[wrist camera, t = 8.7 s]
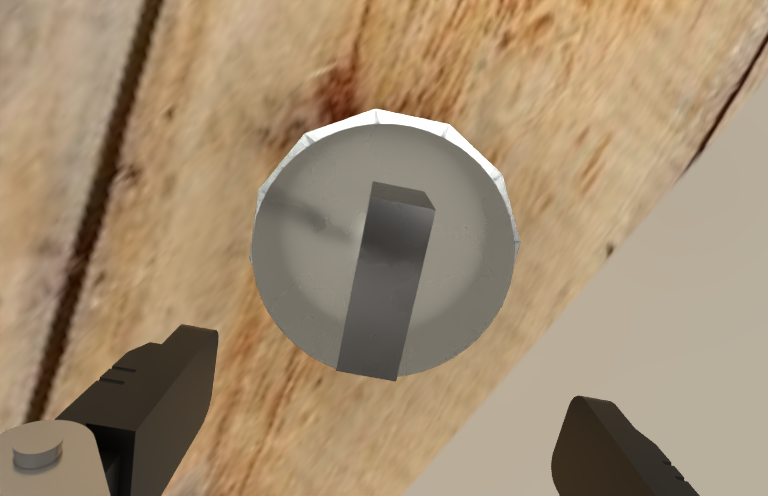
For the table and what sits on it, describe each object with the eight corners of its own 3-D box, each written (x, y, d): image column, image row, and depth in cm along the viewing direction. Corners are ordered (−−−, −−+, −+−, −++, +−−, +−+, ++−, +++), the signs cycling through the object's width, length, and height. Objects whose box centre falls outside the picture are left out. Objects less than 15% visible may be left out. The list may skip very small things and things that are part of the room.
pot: (257, 154, 32) (210, 165, 23) (448, 87, 31) (475, 74, 22) (326, 328, 35) (307, 397, 26) (501, 273, 34) (543, 326, 25)
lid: (277, 98, 22) (240, 89, 16) (538, 153, 23) (591, 163, 17) (242, 342, 25) (201, 408, 19) (474, 384, 26) (500, 460, 20)
